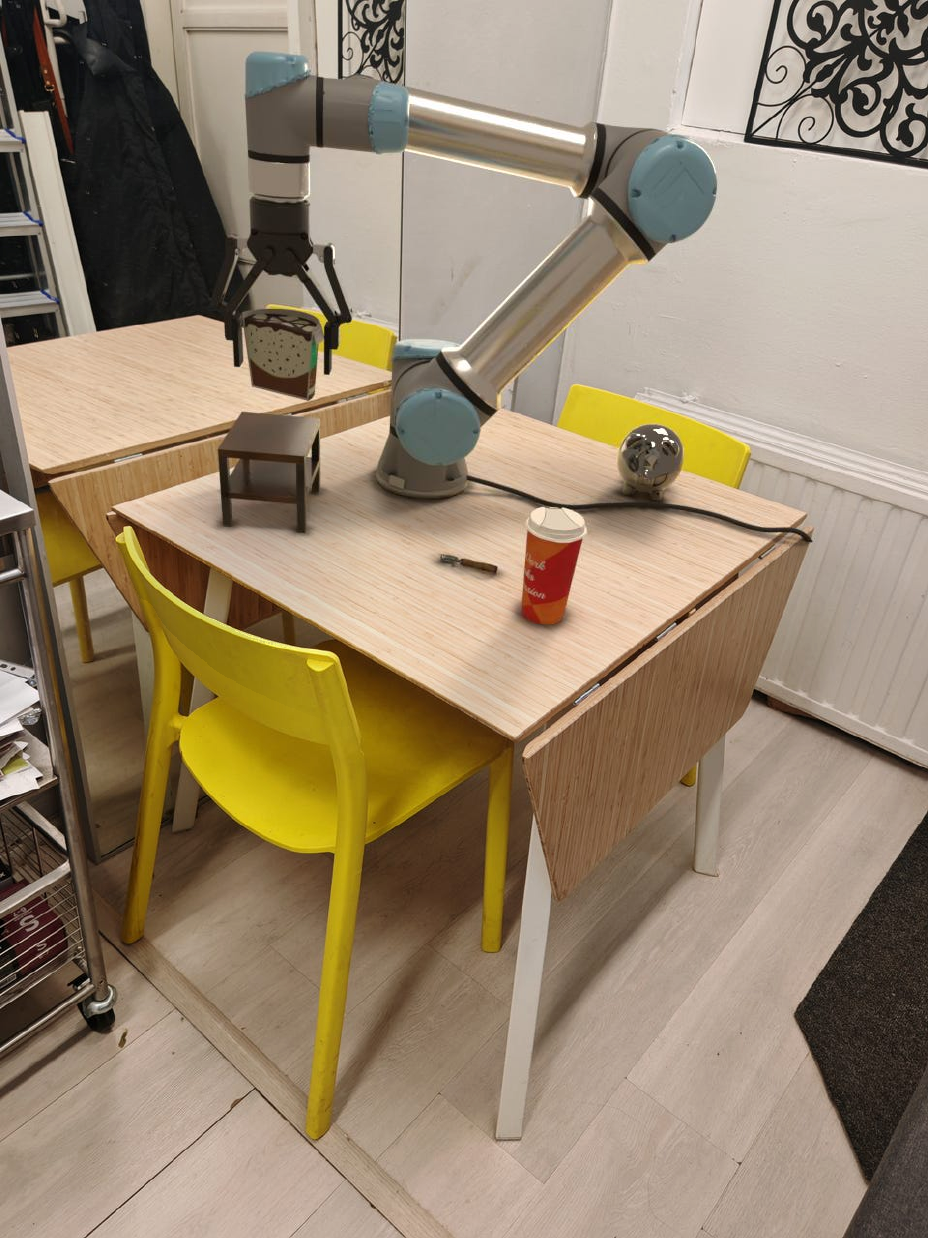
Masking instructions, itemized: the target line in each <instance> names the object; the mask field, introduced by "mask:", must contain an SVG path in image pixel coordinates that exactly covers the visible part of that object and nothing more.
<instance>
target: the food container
mask: <svg viewBox="0 0 928 1238" xmlns="http://www.w3.org/2000/svg"><path fill="white" fill-rule="evenodd" d="M241 315H242V317H241V318H240V327H242V328H243V334H244V341H245V348H246V355H247V356H246V357H247V362H248V369H249V376H250V383H251V387H252V388H257V389H260V390H264V391H268V392H271V393H275V394H280V395H284V396H287V397H290V398H295V399H299V400H303V401H306V402H309V401H311V400H312V399H314V397H315V395H316V383H317V369H318V359H319V344H321V343H322V342H324V329H323V327H322V324H321V322H320V319H319V318H318V317H317V316H315V315H313V314H311V313H309V312H304V311H301V310H295V309H287V308H258V309H257V308H255V309H250V310H246V311H242V312H241Z"/></svg>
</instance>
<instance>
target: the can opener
mask: <svg viewBox="0 0 928 1238" xmlns="http://www.w3.org/2000/svg"><path fill="white" fill-rule="evenodd" d="M438 556H440V557H439V559H440V561H442V562H445V561H447V562H449V563H455V564H456V563H459V565H461V566H463V567H467V568H473V569H475V570H479V571H483V572H486V573H493V574H497V572H498V569H499V566H498V565H496V564H492V563H489V562H483V561H477V560H472V559H469V558H460V559H459V557H457V556H454V555H450V554H445V553H442V554H441V553H440V554H438ZM443 557H445V559H444V558H443Z"/></svg>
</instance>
